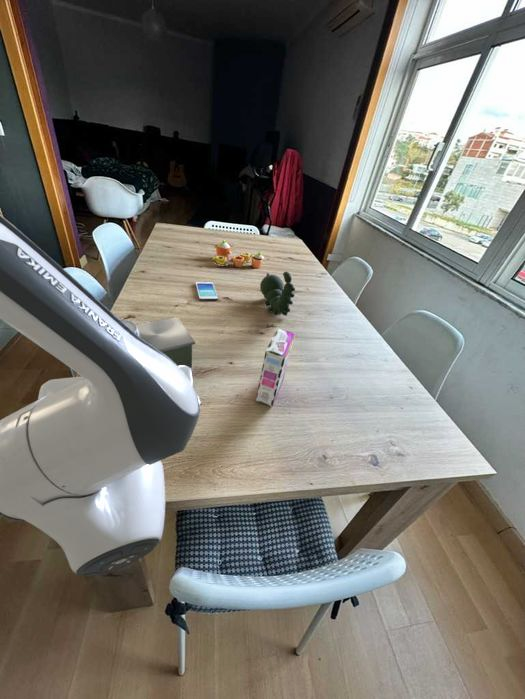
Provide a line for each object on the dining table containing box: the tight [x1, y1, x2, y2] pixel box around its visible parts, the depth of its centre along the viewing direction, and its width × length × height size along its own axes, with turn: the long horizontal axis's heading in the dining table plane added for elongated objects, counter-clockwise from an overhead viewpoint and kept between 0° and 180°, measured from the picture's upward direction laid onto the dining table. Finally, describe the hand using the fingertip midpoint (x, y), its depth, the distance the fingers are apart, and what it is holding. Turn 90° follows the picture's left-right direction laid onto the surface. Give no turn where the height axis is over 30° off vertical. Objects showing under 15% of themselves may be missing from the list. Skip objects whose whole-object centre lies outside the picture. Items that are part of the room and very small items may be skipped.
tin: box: [162, 345, 193, 369], centre depth 80 cm, size 16×14×8 cm
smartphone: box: [195, 281, 219, 301], centre depth 120 cm, size 8×1×15 cm
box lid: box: [136, 316, 196, 352], centre depth 78 cm, size 16×14×1 cm
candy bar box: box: [255, 328, 296, 407], centre depth 74 cm, size 11×5×16 cm, turn 162°
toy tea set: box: [212, 239, 265, 269], centre depth 148 cm, size 26×16×10 cm, turn 101°
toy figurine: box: [259, 271, 296, 317], centre depth 112 cm, size 9×19×25 cm
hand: (124, 360), depth 48 cm, fingers closed on beverage can, 5 cm apart
